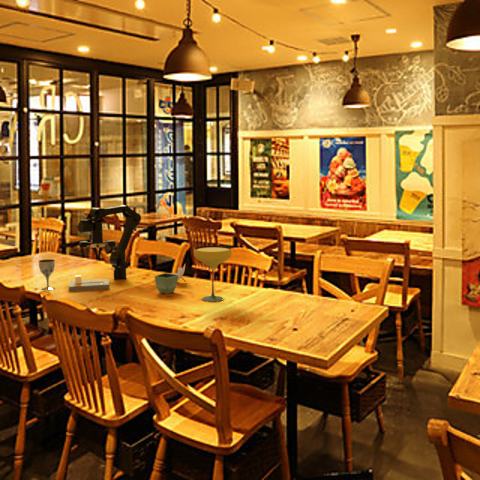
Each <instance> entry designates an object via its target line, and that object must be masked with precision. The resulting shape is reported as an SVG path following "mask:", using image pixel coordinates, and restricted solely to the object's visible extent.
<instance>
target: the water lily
mask: <svg viewBox="0 0 480 480" xmlns="http://www.w3.org/2000/svg"><path fill="white" fill-rule="evenodd" d="M177 268H178V269H177V272H174V273H172V274H175V275H178V281H179V280H180V279H182V280H183V281H184V283H185V282H187V281H186V280H185V279H184V277H183V275H184V273H185V268H186V264H184V265H183V266H181V267H177Z"/></svg>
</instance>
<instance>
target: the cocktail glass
mask: <svg viewBox="0 0 480 480" xmlns="http://www.w3.org/2000/svg"><path fill="white" fill-rule="evenodd" d="M193 256H194V258H195V259H197V260H198V261H199V262H201V263H203V264H205V265H207V266H208V267H209V269H210V270H211V272H212V273H211V295H208V296H204V297H202V298H201V300H202V302H206V301H208V302H207V303H217V302H216V301H219V302H221V301H220V300H222V299H223V298H224V297H223V296H221V295H215V288H214V270H215V269H216V268H217V267H218V266H219V265H220V264H223V263H224V262H226V261H228V260H229V259H230V258H231V257H232V248H231V247H229V246H225V245H224V246H222V245H221V246H220V245H203V246H197V247H195V248H194V249H193ZM222 297H223V298H222Z"/></svg>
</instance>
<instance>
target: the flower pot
mask: <svg viewBox="0 0 480 480" xmlns="http://www.w3.org/2000/svg"><path fill="white" fill-rule="evenodd" d="M154 281H155V286H156V288H157V291H158V292H159V293H161V294H167V295H168V294H171V293H174V291H175V290H176V288H177V287H178V286H177V285H178V282H179V280H178V275H175V274H173V273H168V272H163V273H159V274H156V275H154Z"/></svg>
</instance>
